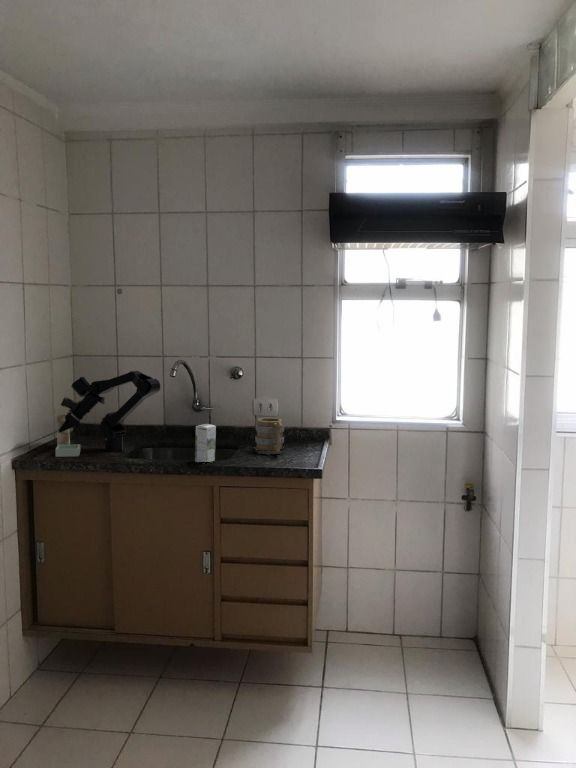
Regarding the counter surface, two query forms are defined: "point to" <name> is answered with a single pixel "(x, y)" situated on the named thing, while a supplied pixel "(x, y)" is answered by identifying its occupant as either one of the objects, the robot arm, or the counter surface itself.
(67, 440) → the birch block
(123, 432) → the robot arm
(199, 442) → the syrup box
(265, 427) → the tankard
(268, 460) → the counter surface
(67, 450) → the holder
